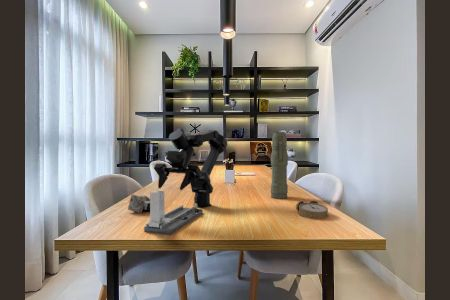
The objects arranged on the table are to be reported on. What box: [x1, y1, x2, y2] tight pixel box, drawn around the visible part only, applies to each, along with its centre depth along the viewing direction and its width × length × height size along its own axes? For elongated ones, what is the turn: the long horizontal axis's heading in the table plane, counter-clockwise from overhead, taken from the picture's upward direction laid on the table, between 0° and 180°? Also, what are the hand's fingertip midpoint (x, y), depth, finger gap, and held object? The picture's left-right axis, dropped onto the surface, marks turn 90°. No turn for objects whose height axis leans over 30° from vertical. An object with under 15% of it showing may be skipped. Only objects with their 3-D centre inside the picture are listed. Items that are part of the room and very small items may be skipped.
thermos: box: [270, 131, 289, 200], centre depth 131 cm, size 9×12×35 cm
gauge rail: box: [143, 203, 204, 236], centre depth 92 cm, size 26×10×4 cm, turn 161°
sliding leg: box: [148, 190, 171, 228], centre depth 83 cm, size 4×7×11 cm, turn 71°
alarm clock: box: [295, 200, 330, 220], centre depth 102 cm, size 11×5×15 cm
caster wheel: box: [127, 194, 150, 214], centre depth 107 cm, size 7×11×10 cm
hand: (169, 188), depth 90 cm, fingers open, 9 cm apart
